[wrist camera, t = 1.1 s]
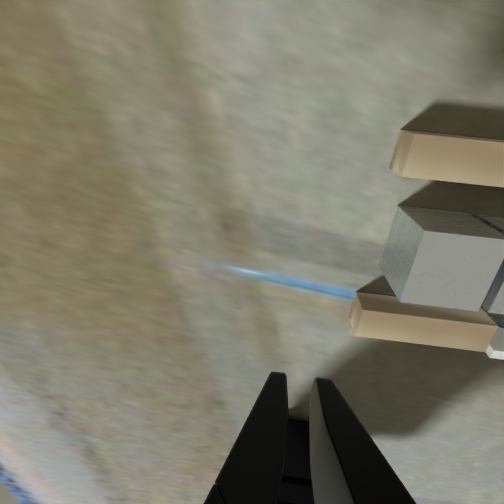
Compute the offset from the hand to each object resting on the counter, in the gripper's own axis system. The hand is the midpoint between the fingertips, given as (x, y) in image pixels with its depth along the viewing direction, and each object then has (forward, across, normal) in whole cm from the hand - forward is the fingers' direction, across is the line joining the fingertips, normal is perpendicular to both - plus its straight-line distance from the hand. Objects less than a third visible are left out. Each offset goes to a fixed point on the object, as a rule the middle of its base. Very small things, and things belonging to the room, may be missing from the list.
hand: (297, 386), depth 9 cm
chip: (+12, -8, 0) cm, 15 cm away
